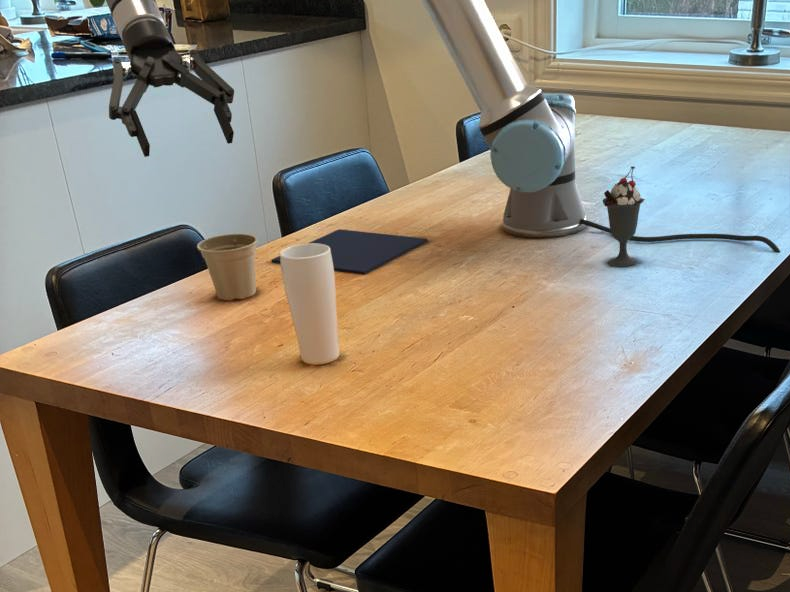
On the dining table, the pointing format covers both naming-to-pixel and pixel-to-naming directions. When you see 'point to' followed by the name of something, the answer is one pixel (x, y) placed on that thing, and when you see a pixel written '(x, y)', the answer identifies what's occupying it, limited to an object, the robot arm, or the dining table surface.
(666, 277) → the dining table surface
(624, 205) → the sundae
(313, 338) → the white vase
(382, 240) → the placemat
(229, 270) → the flower pot
